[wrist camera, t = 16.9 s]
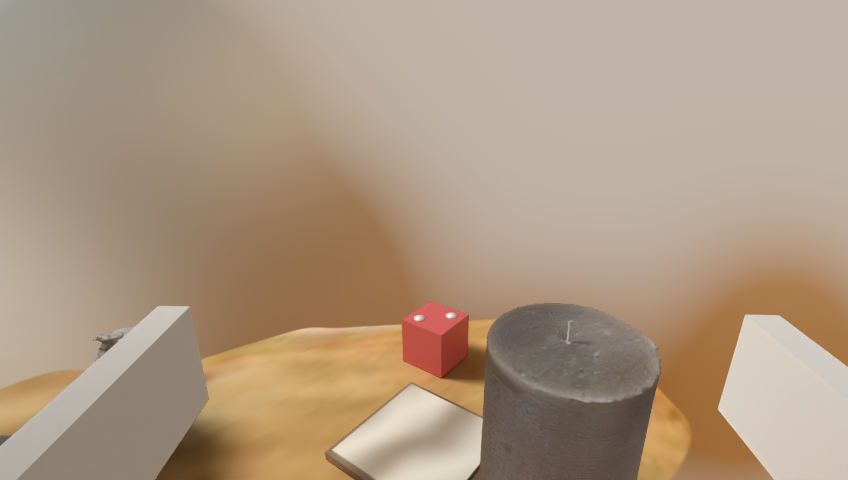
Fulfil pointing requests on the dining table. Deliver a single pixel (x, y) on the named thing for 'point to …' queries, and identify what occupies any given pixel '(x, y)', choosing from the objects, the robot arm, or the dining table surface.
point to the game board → (412, 440)
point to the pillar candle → (565, 395)
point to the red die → (435, 338)
